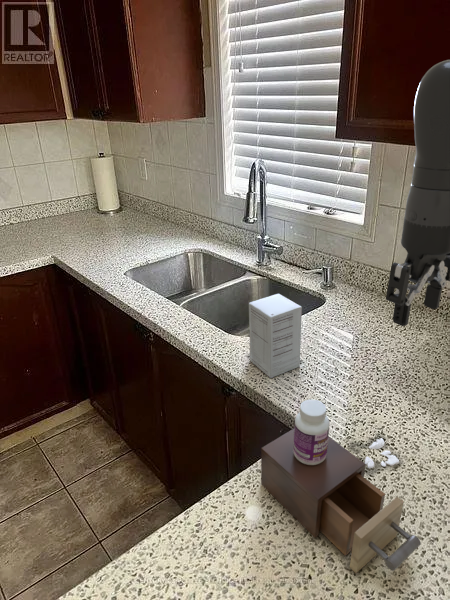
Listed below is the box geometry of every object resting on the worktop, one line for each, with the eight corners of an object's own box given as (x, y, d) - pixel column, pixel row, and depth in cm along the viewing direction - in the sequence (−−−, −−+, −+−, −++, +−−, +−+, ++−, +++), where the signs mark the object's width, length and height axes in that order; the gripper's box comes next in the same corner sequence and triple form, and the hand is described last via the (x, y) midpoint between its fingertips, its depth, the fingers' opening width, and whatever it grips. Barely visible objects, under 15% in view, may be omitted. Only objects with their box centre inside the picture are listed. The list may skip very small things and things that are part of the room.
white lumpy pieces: (380, 442, 88) (381, 434, 87) (403, 467, 82) (405, 460, 81) (347, 451, 86) (348, 444, 85) (368, 478, 80) (369, 471, 79)
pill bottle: (318, 471, 69) (322, 424, 65) (287, 458, 72) (289, 411, 68) (331, 449, 73) (336, 403, 69) (301, 437, 76) (304, 392, 72)
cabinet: (359, 506, 75) (365, 463, 70) (314, 543, 69) (318, 499, 65) (304, 460, 84) (307, 420, 80) (260, 489, 79) (261, 447, 74)
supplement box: (301, 366, 111) (303, 306, 103) (270, 379, 107) (271, 317, 99) (277, 349, 118) (278, 292, 111) (248, 360, 114) (247, 301, 107)
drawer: (422, 558, 65) (431, 522, 62) (381, 600, 61) (389, 563, 57) (338, 487, 77) (342, 454, 74) (298, 518, 72) (300, 483, 69)
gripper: (428, 233, 58) (410, 340, 65) (484, 211, 65) (462, 309, 72) (379, 221, 63) (368, 321, 71) (435, 202, 71) (420, 294, 78)
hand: (415, 315), depth 71 cm, fingers open, 8 cm apart
